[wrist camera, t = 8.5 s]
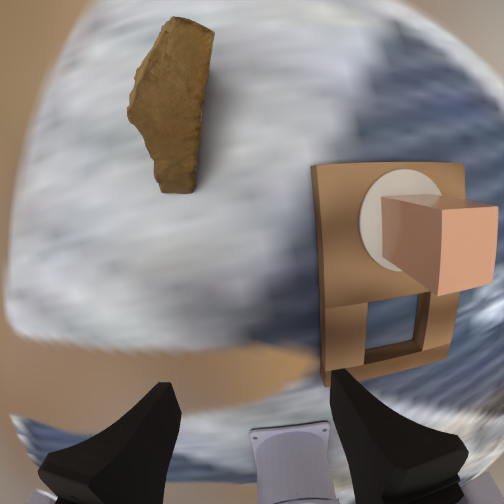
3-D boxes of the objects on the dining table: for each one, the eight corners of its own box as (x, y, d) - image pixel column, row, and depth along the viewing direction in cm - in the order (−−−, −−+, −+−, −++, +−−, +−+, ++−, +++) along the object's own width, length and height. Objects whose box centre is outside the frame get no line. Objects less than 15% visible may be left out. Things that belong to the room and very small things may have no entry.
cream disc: (440, 262, 19) (444, 264, 18) (359, 274, 19) (361, 277, 19) (440, 169, 17) (444, 169, 17) (354, 170, 18) (357, 170, 17)
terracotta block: (430, 250, 18) (492, 283, 11) (382, 256, 18) (437, 296, 12) (430, 193, 17) (498, 206, 10) (380, 196, 17) (441, 209, 11)
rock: (217, 233, 18) (297, 90, 15) (88, 226, 12) (187, 9, 8) (145, 163, 24) (197, 60, 20) (54, 147, 17) (110, 19, 13)
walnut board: (437, 347, 23) (446, 358, 21) (320, 373, 24) (324, 387, 22) (449, 163, 19) (463, 163, 17) (310, 166, 20) (316, 164, 18)
